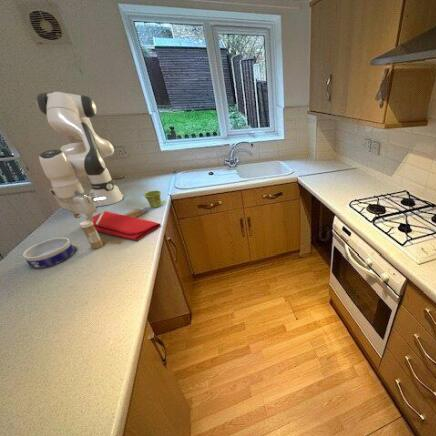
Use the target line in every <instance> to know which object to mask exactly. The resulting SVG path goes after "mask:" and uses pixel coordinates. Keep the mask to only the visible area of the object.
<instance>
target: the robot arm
mask: <svg viewBox="0 0 436 436" xmlns="http://www.w3.org/2000/svg"><path fill="white" fill-rule="evenodd" d="M35 101H36V106H37V108H38V109H39V111H40V112H41V113H42V114H43V115H45V116H46V119H47V123H48V124H49V126H50V127H51V128H52V129H53V130H55V131H56V132H57V133H60V134H62V135H65V136H67V137H68V136H69V137H73V138H74V139H76V140H79V141H78V142H70V143H68V144H64V145H62V146H61V147H60V149H48V150H46V151H42V152H41V153H39V155H38V159H39V163H40V166H41V169H42V171H43V173H44V174H45V176H46V177H47V179H48V180H49V181H50V183H51V184H50V185H51V187H52V188H51V189H49V193H50V194H51V196H53V197H54V199H55V201H56V203H57V204H58V205H59V207H60V208H61V209H64V210H67V211H68V212H69V213H70V214H71V215H72V216H73V218H74V219H80V218H82V217H81V214H84V215H85V216H86V218H85V219H86V220H87V221H89V222H91V221H93V220H94V219H93V215H94V214H95V213H96V212H97V211H98V209H97V207H103V206H109V205H113V204H116V203H119V202H121V201H122V200H123V198H124V197H125V194H123V193H121V191H120V189H119V187H118V186H117V185H116V184H115V181H114V179H112V176H111V173H110V171H109V169H108V167H106V163H105V161H104V159H105V158H109V157H111V156H113V155H114V154H115V148H114V146H113V144H112V143H111V142H110V141H109V140H107V139H105V138H102V137H101V136H99V135H98V134H97V133H96V132H95V130H94V129H95V128H94V126H93V125H92V122H91V119H90V118H94V117H96V115H97V110H98V109H97V105H96V103H95V102H94V100H93V98H91V97H90V96H88V95H84V94H81V95H80V94H74V93H66V92H62V91H53V92H51V93H50V92H40V93H39V94H37V95H36V100H35ZM81 177H87V178H88V180H89V181H90V182H89V185H90V187H91V189H90V190H89V191H88V194H85V190H84V187H83V185H82V183H81V181H80V179H79V178H81ZM80 213H81V214H80Z"/></svg>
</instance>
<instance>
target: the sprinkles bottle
mask: <svg viewBox="0 0 436 436" xmlns="http://www.w3.org/2000/svg"><path fill="white" fill-rule="evenodd" d="M79 226H80V228H81V229H82V231H83V233H84V236H85V237H86V239H87V241H88V243H89V244H90V246H91V249H94V250H97V249H100V248H102V247H103V246H104V243H103V242H102V239H101V237H100V235H99V232H98V231H96V229H95V227H94V224H93V222H92V221H91V222H89V221H87V219H86V220H82V221H81V222H79Z"/></svg>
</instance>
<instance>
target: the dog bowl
mask: <svg viewBox="0 0 436 436" xmlns="http://www.w3.org/2000/svg"><path fill="white" fill-rule="evenodd" d="M75 251H76V249H75V248H74V246H73V244H72V243H71V241H70V238H68V237H54V238H50V239H46V240H42V241H41V242H38V243H35V244H33V245H32V246H30V247H28V248H27V249H25V251H24V252H23V253H22V257H23V259H24V260H25V262H27V264H28V265H29V267H31V269H38V270H39V269H47V268H50V267H53V266H56V265H59V264H60V263H63V262H65V261H66V260H68V259H69V258H71V257H72V256H73V255H74V254H75Z"/></svg>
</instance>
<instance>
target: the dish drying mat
mask: <svg viewBox="0 0 436 436" xmlns="http://www.w3.org/2000/svg"><path fill="white" fill-rule="evenodd" d="M124 215H125V214H120V213H116V212H111V211H107V210H105V211H103V212H101V213H98V214H95V215H94V216H93V219H94V220H93V221H92V222H93V224H94V227H95V229H96V231H97V233H102V234H107V235H109V236H115V237H119V238H123V239H127V240H132V241H139V240H141V239H142V238H144V237H145V236H147V235H148V234H150V233H152V232H153V231H155V230H157V229H158V228H160V227H161V223H159V222H156V221H152V220H147V219H142V218H138V217H136V218H133V217H129V216H124Z"/></svg>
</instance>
